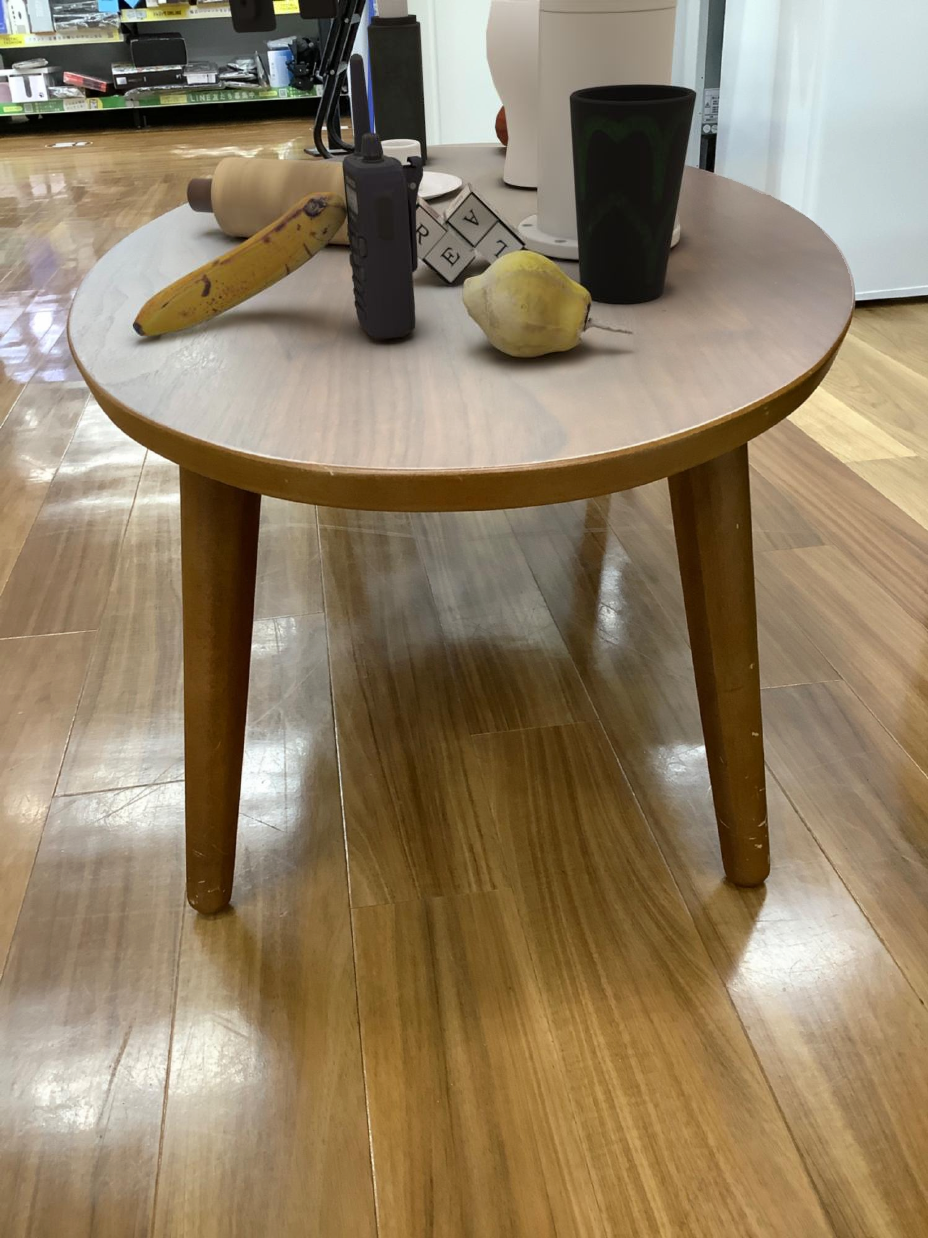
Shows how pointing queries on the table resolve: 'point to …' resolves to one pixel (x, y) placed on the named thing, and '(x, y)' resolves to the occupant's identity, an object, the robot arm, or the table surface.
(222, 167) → the rolling pin
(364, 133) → the two-way radio
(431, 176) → the candle holder
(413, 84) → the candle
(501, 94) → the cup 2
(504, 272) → the fruit
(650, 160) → the cup
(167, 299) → the fruit
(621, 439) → the table surface
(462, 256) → the building blocks
